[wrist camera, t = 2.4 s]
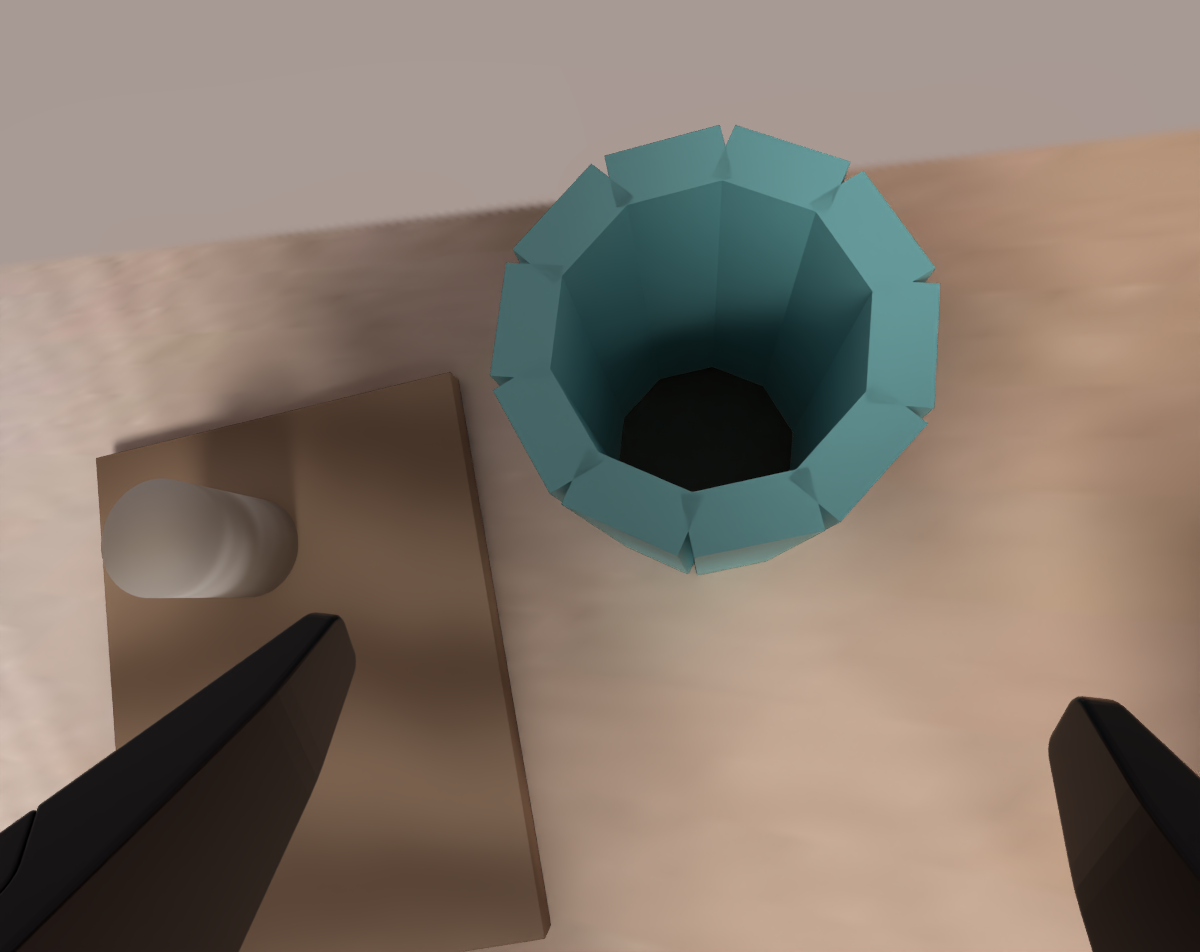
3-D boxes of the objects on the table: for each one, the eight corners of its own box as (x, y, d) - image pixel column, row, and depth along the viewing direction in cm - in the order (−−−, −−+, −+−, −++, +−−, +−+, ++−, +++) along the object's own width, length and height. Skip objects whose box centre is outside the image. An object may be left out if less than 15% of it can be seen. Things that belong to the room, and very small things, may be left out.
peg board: (550, 925, 20) (504, 1027, 15) (154, 988, 21) (-4, 1101, 16) (458, 380, 23) (395, 323, 18) (115, 462, 24) (-27, 430, 19)
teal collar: (858, 542, 20) (1004, 493, 11) (608, 593, 21) (528, 592, 11) (797, 313, 22) (878, 82, 12) (563, 370, 22) (457, 195, 13)
